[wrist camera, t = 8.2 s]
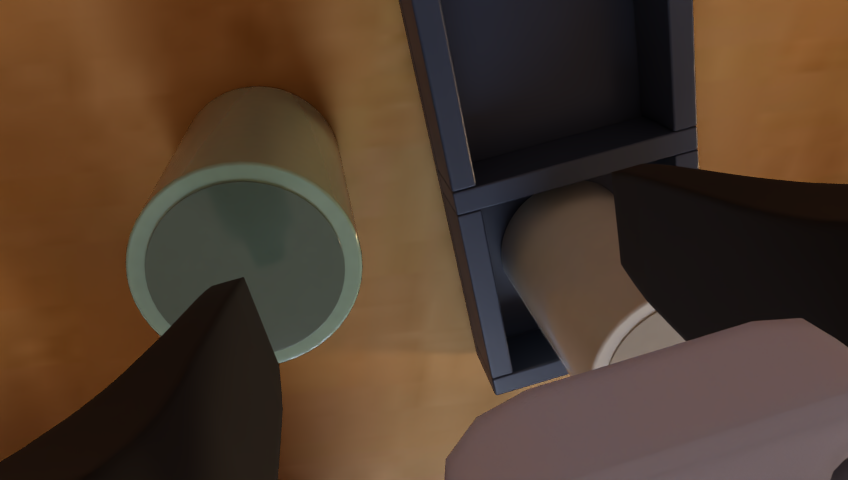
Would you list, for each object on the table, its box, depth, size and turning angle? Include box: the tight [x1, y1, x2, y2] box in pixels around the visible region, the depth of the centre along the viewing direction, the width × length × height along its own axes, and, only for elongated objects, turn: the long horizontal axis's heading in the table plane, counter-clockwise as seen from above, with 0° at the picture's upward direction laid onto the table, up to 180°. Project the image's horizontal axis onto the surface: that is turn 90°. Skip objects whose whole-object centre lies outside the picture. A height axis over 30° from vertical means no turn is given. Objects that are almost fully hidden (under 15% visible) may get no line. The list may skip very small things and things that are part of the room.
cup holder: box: [399, 0, 699, 395], centre depth 22 cm, size 15×8×3 cm, turn 13°
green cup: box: [126, 86, 363, 363], centre depth 18 cm, size 5×5×8 cm
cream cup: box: [501, 181, 686, 377], centre depth 21 cm, size 5×5×8 cm
